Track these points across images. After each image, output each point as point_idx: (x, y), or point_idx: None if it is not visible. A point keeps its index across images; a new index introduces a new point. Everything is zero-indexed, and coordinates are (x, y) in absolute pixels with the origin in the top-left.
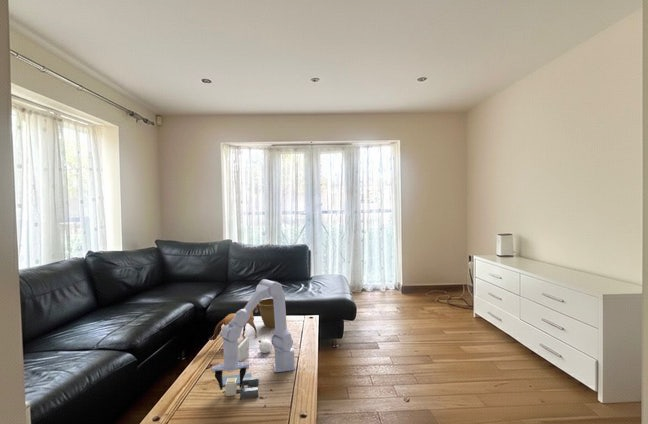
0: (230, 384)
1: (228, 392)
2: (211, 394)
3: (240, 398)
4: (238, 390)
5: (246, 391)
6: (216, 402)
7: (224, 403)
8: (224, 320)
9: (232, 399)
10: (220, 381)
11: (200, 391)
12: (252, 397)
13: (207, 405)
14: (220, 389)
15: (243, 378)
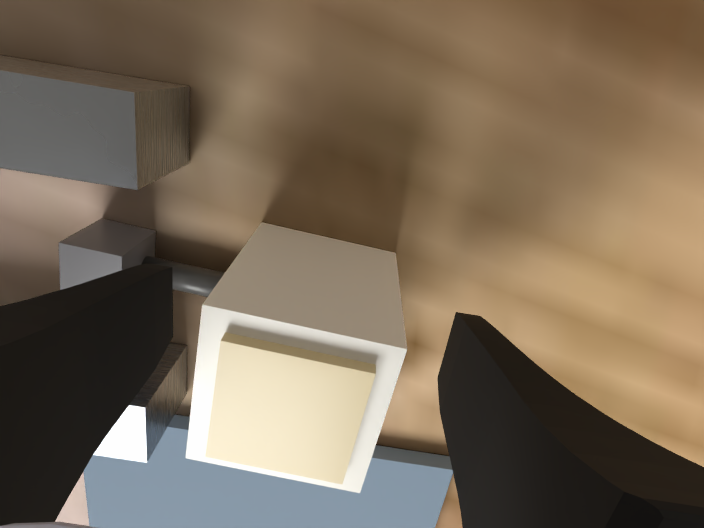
0: (309, 316)
1: (356, 262)
2: (567, 349)
3: (183, 88)
4: (217, 278)
5: (16, 72)
6: (536, 145)
7: (427, 71)
8: None
9: (306, 131)
10: (533, 393)
11: (676, 448)
12: (3, 57)
13: (673, 118)
14: (482, 318)
15: (125, 452)
